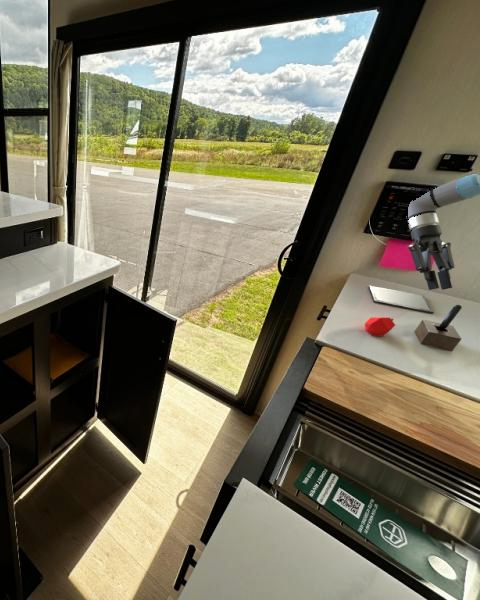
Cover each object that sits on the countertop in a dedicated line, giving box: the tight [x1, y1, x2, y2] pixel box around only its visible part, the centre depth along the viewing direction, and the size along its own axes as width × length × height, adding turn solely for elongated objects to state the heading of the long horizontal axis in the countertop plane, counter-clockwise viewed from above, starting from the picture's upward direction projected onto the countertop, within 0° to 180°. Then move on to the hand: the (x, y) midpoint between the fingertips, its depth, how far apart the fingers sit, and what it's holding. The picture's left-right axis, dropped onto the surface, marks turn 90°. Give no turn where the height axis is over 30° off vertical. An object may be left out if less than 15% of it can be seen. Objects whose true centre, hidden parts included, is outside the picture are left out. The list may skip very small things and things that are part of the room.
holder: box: [414, 319, 462, 352], centre depth 101 cm, size 7×7×5 cm
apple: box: [364, 316, 396, 337], centre depth 105 cm, size 7×7×8 cm
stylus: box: [437, 304, 463, 331], centre depth 99 cm, size 2×2×14 cm
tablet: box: [368, 285, 435, 315], centre depth 123 cm, size 17×13×1 cm
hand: (440, 288), depth 113 cm, fingers open, 4 cm apart
